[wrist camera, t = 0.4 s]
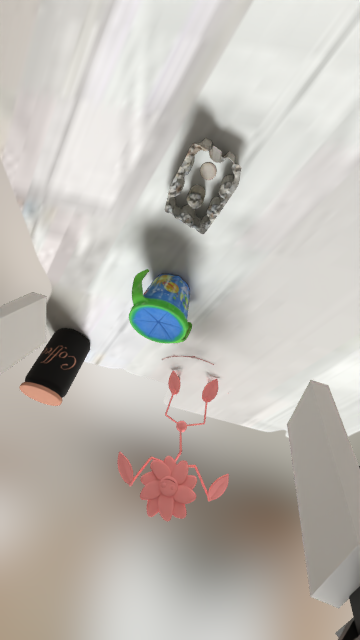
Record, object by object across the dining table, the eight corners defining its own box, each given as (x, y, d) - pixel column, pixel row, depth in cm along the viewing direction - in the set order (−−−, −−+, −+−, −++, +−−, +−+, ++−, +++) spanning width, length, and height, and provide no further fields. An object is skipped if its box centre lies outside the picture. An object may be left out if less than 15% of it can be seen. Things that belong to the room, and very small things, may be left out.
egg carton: (198, 127, 35) (192, 139, 32) (249, 162, 36) (246, 175, 34) (164, 199, 43) (157, 213, 40) (207, 224, 44) (202, 239, 42)
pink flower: (237, 394, 83) (219, 541, 61) (152, 375, 87) (107, 506, 65) (247, 366, 72) (230, 535, 49) (149, 345, 75) (92, 493, 53)
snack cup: (129, 261, 54) (108, 299, 47) (177, 248, 49) (160, 288, 42) (167, 316, 64) (154, 353, 57) (210, 309, 58) (201, 349, 52)
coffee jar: (94, 337, 78) (61, 397, 67) (89, 353, 86) (60, 409, 75) (56, 321, 77) (17, 380, 65) (55, 340, 85) (20, 395, 74)
